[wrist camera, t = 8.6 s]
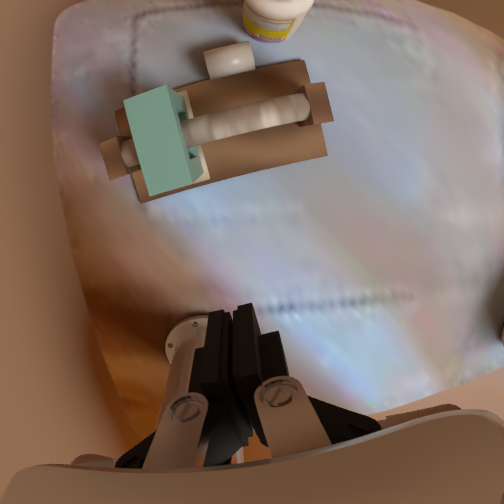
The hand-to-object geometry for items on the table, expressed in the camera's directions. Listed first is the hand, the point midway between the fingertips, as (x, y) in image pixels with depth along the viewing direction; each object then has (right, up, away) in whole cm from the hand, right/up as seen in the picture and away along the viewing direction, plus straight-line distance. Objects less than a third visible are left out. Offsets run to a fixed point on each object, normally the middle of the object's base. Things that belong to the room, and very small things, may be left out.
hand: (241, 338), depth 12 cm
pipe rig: (-3, +18, +22) cm, 28 cm away
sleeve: (-2, +26, +18) cm, 32 cm away
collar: (-8, +16, +21) cm, 27 cm away
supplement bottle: (+3, +31, +17) cm, 35 cm away
